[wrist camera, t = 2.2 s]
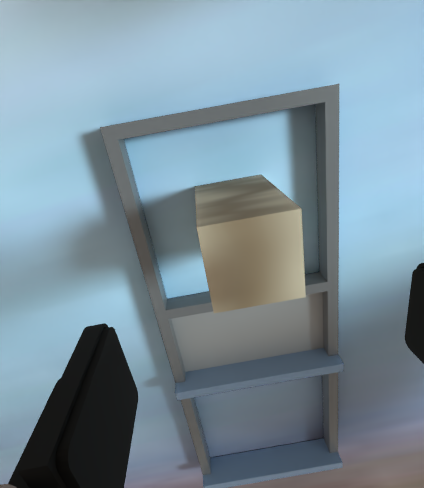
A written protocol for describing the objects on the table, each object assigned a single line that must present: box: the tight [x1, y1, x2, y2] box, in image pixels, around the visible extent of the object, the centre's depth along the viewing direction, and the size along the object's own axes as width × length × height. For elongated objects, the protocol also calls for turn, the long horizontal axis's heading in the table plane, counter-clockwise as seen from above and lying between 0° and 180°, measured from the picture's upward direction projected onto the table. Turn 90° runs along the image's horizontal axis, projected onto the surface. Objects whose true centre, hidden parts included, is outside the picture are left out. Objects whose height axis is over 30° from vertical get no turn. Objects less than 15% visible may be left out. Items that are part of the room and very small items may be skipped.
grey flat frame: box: [100, 84, 344, 488], centre depth 24 cm, size 14×34×2 cm, turn 9°
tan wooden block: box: [195, 175, 306, 313], centre depth 17 cm, size 4×4×8 cm
